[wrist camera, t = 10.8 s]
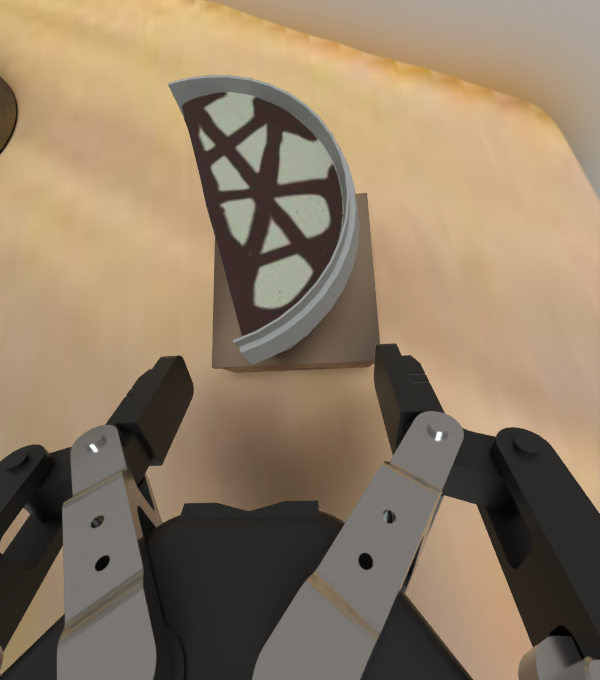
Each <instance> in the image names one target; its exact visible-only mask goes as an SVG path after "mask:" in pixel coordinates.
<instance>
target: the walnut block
mask: <svg viewBox="0 0 600 680" xmlns="http://www.w3.org/2000/svg"><path fill="white" fill-rule="evenodd" d="M355 195H356V200H357V206H358V216H359V226H360V227H359V240H358V250H357V254H356V257H355V261H354V265H353V269H352V272H351V274H350V276H349V278H348V281H347V283H346V285H345V288H344V290H343V291H342V293H341V295H340V296H339V298H338V299H337V301H336V302H335V304H334V305H333V307H332V308H331V310H330V311H329V312H328V313H327V314H326V316H325V317H324V318H323V319H322V320H321V321H320V322H319V323H318V324H317V325H316V327H315V328H314V329H313V331H312V332H311V334H310V335H309V336H308V337H307V338H305V339H304V340H303V341H301V342H300V343H299V344H298V345H296V346H295V347H294V348H292V349H291V350H289V351H286V352H284V353H281V354H279V355H276V356H272V357H270V358H267V359H265V360H263V361H260V362H258V363H255V364H253V365H252V364H251V363H250V362H249V361H248V360H247V359H246V358H245V357H244V356H243V355H242V354H241V352H240V348H239V346H237V345H236V344H235V343H233V340H235V339H237V338H240V337H242V334H241V331H240V327H239V323H238V320H237V316H236V312H235V308H234V305H233V301H232V297H231V293H230V289H229V285H228V282H227V278H226V274H225V270H224V266H223V263H222V259H221V255H220V252H219V248H218V244H217V241H216V237H215V262H214V304H213V346H212V368H215V369H218V368H222V369H225V370H229V371H232V372H258V371H283V370H307V369H332V368H357V367H369V366H371V365H372V364H373V363H375V350H376V345H378V344H380V340H379V328H378V316H377V305H376V293H375V281H374V269H373V258H372V246H371V234H370V223H369V211H368V199H367V193H362V194H355Z"/></svg>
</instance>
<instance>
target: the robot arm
mask: <svg viewBox="0 0 600 680" xmlns="http://www.w3.org/2000/svg"><path fill="white" fill-rule="evenodd" d="M374 383H375V389H376V393H377V397H378V401H379V405H380V408H381V412H382V416H383V420H384V424H385V427H386V431H387V435H388V439H389V442H390V446H391V450H392V454H393V457H392V458H391V460H390V461H389V462H386V461H385V462H384V463H383V464H382V465H381V466H380V467H379V469H378V471H377V472H376V474H375V476H374V477H373V479H372V480H371V482H370V484H369V485H368V487H367V488H366V490H365V492H364V493H363V495H362V497H361V498H360V500H359V501H358V503H357V505H356V506H355V508H354V510H353V511H352V513H351V514H350V516H349V518H348V519H347V521H346V523H344V522H343V521H341V520H340V519H338V518H336V517H334V516H332V515H330V514H327V513H324V512H321V511H319V504H318V501H284V502H281V503H277V504H274V505H270V506H267V507H263V508H260V509H256V510H253V511H244V510H241V509H237V508H233V507H230V506H226V505H223V504H219V503H187V504H184V507H183V510H182V513H181V515H180V516H177V517H174V518H172V519H170V520H168V521H166V522H164V523H163V522H162V520H161V517H160V515H159V511H158V508H157V505H156V502H155V498H154V495H153V492H152V488H151V485H150V482H149V479H148V476H147V474H146V471H147V469H148V467H149V466H161V465H162V464H163V462H164V459H165V457H166V455H167V453H168V450H169V448H170V446H171V444H172V442H173V439H174V437H175V435H176V433H177V431H178V428H179V426H180V424H181V422H182V420H183V417H184V415H185V413H186V411H187V408H188V406H189V404H190V402H191V400H192V397H193V393H194V387H193V382H192V380H191V377H190V375H189V372H188V369H187V367H186V364H185V362H184V359H183V358H182V357H181V356H166V357H161V358H160V359H159V360H158V361H157V363H156V364H155V366H154V367H153V369H149V370H148V371H147V372H146V373H144V374H143V375H142V376H141V377H139V378H138V380H137V381H136V383H135V384H134V385H133V387H132V389H131V390H130V391H129V392H128V394H127V397H125V398H124V399H123V401H122V402H121V404H120V405H119V406H118V408H117V409H116V411H115V412H114V413H113V415H112V416H111V418H110V419H109V420H108V422H107V423H106V424H105V425H102V426H98V427H96V428H93V429H91V430H89V431H87V432H86V433H84V434H83V435H82V436H81V437H79V438H78V439H77V440H76V442H75V443H74V444H73V446H72V447H70V448H66V449H63V450H59V451H56V452H53V453H48V452H47V451H46V449H45V448H44V447H43V446H41V445H29V446H26V447H23V448H20V449H18V450H16V451H15V452H13V453H11V454H10V455H8V456H7V457H5V458H4V459H3V460H2V461H1V462H0V541H1V538H2V536H3V535H4V533H5V532H6V530H7V529H8V528H9V526H10V525H11V523H12V522H13V521H14V519H15V518H16V517H17V515H18V514H19V512H20V511H21V510H22V508H24V509H26V510H27V511H28V512H29V513H30V516H29V517H28V519H27V520H26V522H25V523H24V525H23V526H22V527H21V529H20V530H19V532H18V533H17V535H16V536H15V538H14V539H13V540H12V542H11V543H10V545H9V546H8V548H7V549H6V551H5V552H4V554H3V555H2V554H1V553H0V669H1V666H2V661H3V652H4V650H5V648H6V646H7V644H8V643H9V641H10V639H11V637H12V635H13V634H14V632H15V630H16V628H17V626H18V625H19V623H20V621H21V619H22V617H23V616H24V614H25V612H26V610H27V608H28V607H29V605H30V603H31V601H32V599H33V598H34V596H35V594H36V592H37V591H38V589H39V587H40V585H41V583H42V582H43V580H44V578H45V576H46V574H47V573H48V571H49V569H50V567H51V565H52V564H53V562H54V560H55V558H56V556H57V555H58V553H59V551H60V549H61V547H62V546H63V559H64V598H65V614H64V615H63V616H62V617H61V618H60V619H59V620H58V621H57V622H56V623H55V624H54V625H52V626H51V627H50V628H49V629H48V630H47V631H46V632H45V633H44V634H43V635H42V636H41V637H40V638H39V639H38V640H37V641H36V642H35V643H34V644H33V645H32V646H31V647H30V648H29V649H28V650H27V651H26V652H25V653H24V654H22V655H21V656H20V657H19V658H18V659H17V660H16V661H15V662H14V663H13V664H12V665H11V666H10V667H9V668H8V669H7V670H6V671H5V672H4V673H3V674H1V673H0V680H473V679H472V678H471V676H470V675H469V674H468V673H467V671H466V670H465V669H464V667H463V666H462V665H461V664H460V662H459V661H458V660H457V659H456V657H455V656H454V655H453V654H452V652H451V651H450V650H449V649H448V647H447V646H446V645H445V644H444V642H443V641H442V640H441V639H440V637H439V636H438V635H437V634H436V632H435V631H434V630H433V628H432V627H431V626H430V625H429V623H428V622H427V621H426V620H425V618H424V617H423V616H422V615H421V613H420V612H419V611H418V610H417V608H416V607H415V606H414V605H413V603H412V602H411V601H410V600H409V598H408V597H407V596H406V594H405V593H406V591H407V588H408V586H409V583H410V581H411V579H412V576H413V574H414V571H415V569H416V566H417V563H418V561H419V558H420V556H421V553H422V550H423V547H424V545H425V542H426V540H427V537H428V535H429V532H430V530H431V527H432V525H433V522H434V520H435V517H436V515H437V512H438V510H439V507H440V505H441V502H442V500H443V497H444V495H446V496H449V497H453V498H456V499H460V500H463V501H467V502H470V503H474V504H477V507H478V509H479V512H480V514H481V517H482V519H483V522H484V524H485V527H486V530H487V532H488V535H489V537H490V540H491V542H492V545H493V547H494V550H495V552H496V555H497V557H498V560H499V562H500V565H501V568H502V570H503V573H504V575H505V578H506V580H507V583H508V585H509V588H510V590H511V593H512V595H513V598H514V600H515V603H516V606H517V608H518V611H519V613H520V616H521V618H522V621H523V623H524V626H525V628H526V631H527V633H528V636H529V638H530V641H531V644H532V646H533V648H532V649H531V650H529V651H528V652H527V653H525V655H524V656H523V657H522V659H521V661H520V664H519V670H518V677H519V680H600V513H599V512H598V511H597V509H596V508H595V506H594V505H593V504H592V502H591V501H590V499H589V498H588V497H587V495H586V494H585V492H584V491H583V490H582V488H581V487H580V485H579V484H578V483H577V481H576V480H575V478H574V477H573V476H572V474H571V473H570V471H569V470H568V469H567V467H566V466H565V464H564V463H563V461H562V460H561V459H560V457H559V456H558V454H557V453H556V452H555V450H554V449H553V448H552V446H551V445H550V444H549V443H548V442H547V441H546V440H544V439H543V438H542V437H540V436H539V435H537V434H535V433H533V432H531V431H528V430H525V429H521V428H514V427H512V428H505V429H502V430H501V431H499V432H498V434H497V436H496V437H494V436H489V435H485V434H480V433H475V432H471V431H468V430H465V429H463V428H462V427H461V425H460V424H459V423H458V422H457V421H456V420H455V419H454V418H452V417H451V416H449V415H447V414H445V413H444V411H443V409H442V407H441V405H440V403H439V400H438V398H437V396H436V394H435V392H434V390H433V388H432V386H431V384H430V383H429V380H428V378H427V376H426V375H425V372H424V370H423V368H422V366H421V364H420V363H419V362H418V361H417V360H416V359H414V358H413V357H412V356H411V355H407V356H401V353H400V351H399V349H398V346H397V344H378V345H376V350H375V367H374Z"/></svg>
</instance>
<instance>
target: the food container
mask: <svg viewBox="0 0 600 680" xmlns="http://www.w3.org/2000/svg"><path fill="white" fill-rule="evenodd" d="M168 85H169V87H170V89H171V91H172V93H173V96H174V98H175V100H176V102H177V104H178V106H179V108H180V110H181V112H182V114H183V116H184V120H185V122H186V125H187V127H188V131H189V134H190V138H191V142H192V146H193V150H194V154H195V158H196V162H197V166H198V170H199V174H200V179H201V183H202V188H203V192H204V197H205V201H206V206H207V210H208V213H209V217H210V220H211V223H212V227H213V230H214V234H215V237H216V241H217V244H218V248H219V252H220V255H221V259H222V263H223V266H224V270H225V274H226V278H227V282H228V285H229V289H230V293H231V297H232V301H233V305H234V308H235V312H236V316H237V320H238V323H239V327H240V331H241V334H242V337H240V338H237V339H235V340H233V343H235V344H236V345H237V346H239V348H240V352H241V354H242V355H243V356H244V357H245V358H246V359H247V360H248V361H249V362H250V363H251V364H252V365H253V364H255V363H258V362H260V361H263V360H265V359H267V358H270V357H272V356H276V355H279V354H281V353H284V352H286V351H289V350H291V349H292V348H294V347H295V346H296V345H298V344H299V343H300V342H301V341H303V340H304V339H305V338H307V337H308V336H309V335H310V334H311V332H312V331H313V329H314V328H315V327H316V325H317V324H318V323H319V322H320V321H321V320H322V319H323V318H324V317H325V316H326V314H327V313H328V312H329V311H330V310H331V308H332V307H333V305H334V304H335V302H336V301H337V299H338V298H339V296H340V295H341V293H342V291H343V290H344V288H345V285H346V283H347V281H348V278H349V276H350V274H351V272H352V269H353V265H354V261H355V257H356V254H357V250H358V240H359V227H360V226H359V216H358V206H357V200H356V195H355V189H354V184H353V180H352V177H351V173H350V170H349V166H348V163H347V161H346V159H345V157H344V155H343V153H342V151H341V149H340V147H339V145H338V144H337V143H336V141H335V139H334V136H333V134H332V133H331V132H330V130H329V129H328V128H327V126H326V125H325V124H324V122H323V121H322V120H321V118H320V117H319V116H318V115H317V114H316V113H315V112H314V111H312V110H311V109H310V108H309V107H308V106H307V105H306V104H305V103H303V102H302V101H300V100H299V99H297V98H296V97H294V96H293V95H291V94H290V93H289V92H286V91H284V90H282V89H280V88H278V87H275V86H273V85H271V84H268V83H265V82H261V81H258V80H255V79H251V78H245V77H238V76H230V75H207V76H200V77H192V78H186V79H182V80H178V81H174V82H170V83H168Z"/></svg>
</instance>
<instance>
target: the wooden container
mask: <svg viewBox="0 0 600 680" xmlns="http://www.w3.org/2000/svg"><path fill="white" fill-rule="evenodd" d="M15 119H16V102H15V98H14V95H13V92H12V91H11V89H10V87H9V86H8V84H7V83H6V82H5V81H4V80H3V79H2V78H1V77H0V151H1V149H2V148H3V147H4V145H5V144H6V142H7V140H8V138H9V136H10V135H11V132H12V130H13V127H14V124H15Z"/></svg>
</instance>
